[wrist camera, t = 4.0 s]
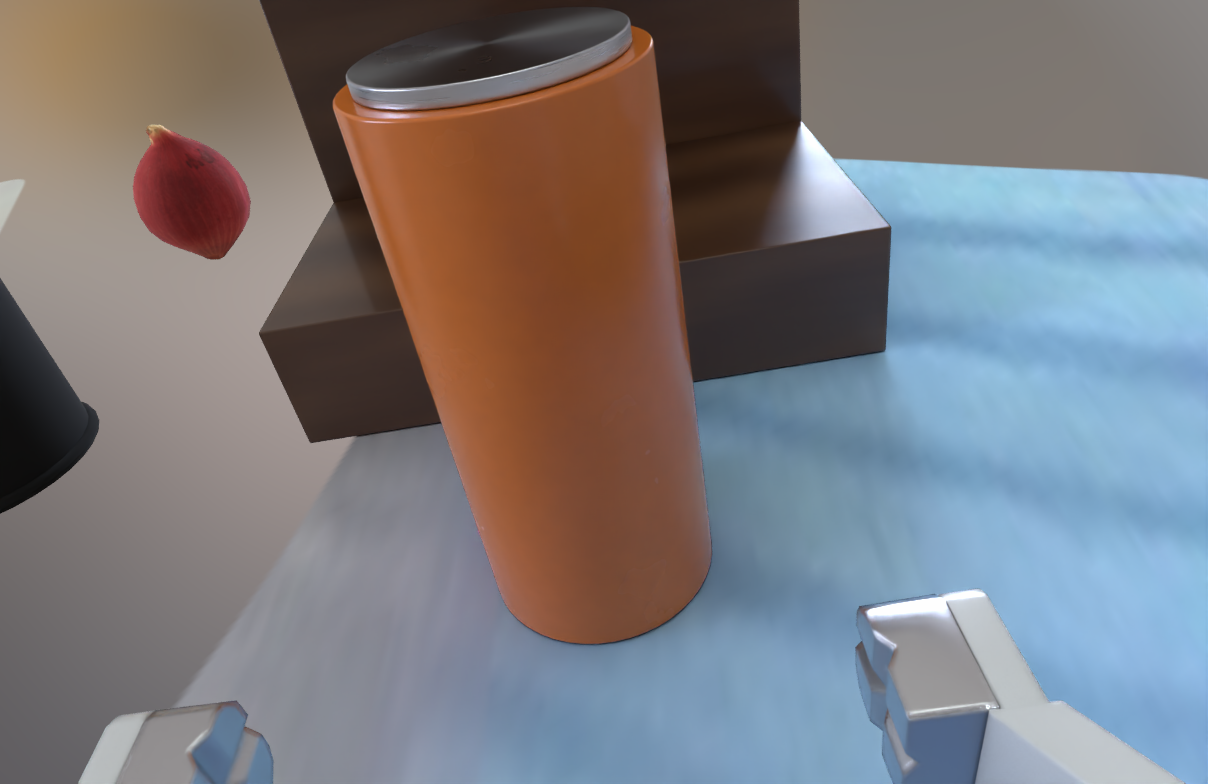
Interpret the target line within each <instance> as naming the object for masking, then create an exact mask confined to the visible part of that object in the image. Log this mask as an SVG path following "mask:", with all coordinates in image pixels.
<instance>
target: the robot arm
mask: <svg viewBox="0 0 1208 784" xmlns="http://www.w3.org/2000/svg"><path fill="white" fill-rule="evenodd" d="M856 626H857V629H858V631H859V634H860V637H861V639H862V641H861V642H860V643H859V644H858V645H857V646H856V647H855V658H856V670H857V677H858V683H859V688H860V691H861V695H862V698H863V702H864V705H865V708H866V711H867V714H868V716H869V719H870V721H871V722H872V723H873V724H875V725H876V726H877V727H878V728H880V729H881V730H882V731H883V743H882V756H883V758H884V761H885V764H886V766H887V769H888V772H889V775H890V777H891V780H892V783H893V784H1186V783H1184V782H1183V781H1181V780H1180V779H1178V778H1177V777H1175V776H1174V775H1172V774H1171V773H1169V772H1168V771H1166V770H1165V769H1163V768H1162V767H1160V766H1159V765H1157V764H1156V763H1154V762H1153V761H1151V760H1150V759H1148V758H1147V757H1146V756H1144V755H1143V754H1141V753H1140V752H1138V751H1137V750H1135V749H1134V748H1132V747H1131V746H1129V745H1128V744H1126V743H1125V742H1123V741H1122V740H1120V739H1119V738H1117V737H1116V736H1114V735H1113V734H1111V733H1110V732H1108V731H1107V730H1105V729H1104V728H1102V727H1101V726H1099V725H1098V724H1096V723H1095V722H1093V721H1092V720H1090V719H1089V718H1087V717H1086V716H1084V715H1083V714H1081V713H1080V712H1078V711H1077V710H1075V709H1074V708H1072V707H1071V706H1070V705H1068V704H1067V703H1065V702H1064V701H1051V702H1049V700H1048V699H1047V697H1046V695H1045V694H1044V692H1043V690H1042V688H1041V687H1040V685H1039V683H1038V682H1037V680H1036V678H1035V676H1034V675H1033V673H1032V671H1031V669H1030V668H1029V666H1028V664H1027V663H1026V661H1025V659H1024V657H1023V656H1022V654H1021V652H1020V650H1019V649H1018V647H1017V645H1016V644H1015V642H1014V640H1013V638H1012V637H1011V635H1010V633H1009V631H1008V630H1007V628H1006V626H1005V625H1004V623H1003V621H1002V619H1001V618H1000V616H999V614H998V613H997V611H996V609H995V607H994V606H993V604H992V602H991V600H990V599H989V597H988V595H987V594H986V593H984V592H983V591H982V590H981V589H970V590H963V591H957V592H951V593H945V594H939V595H936V594H931V595H925V596H919V597H913V598H907V599H900V600H894V601H888V602H882V603H876V604H870V605H864V606H859V608H858V610H857V616H856ZM247 716H248V714H247V713H246V712H245V710H244V709H243V708H242V707H241V705H240V704H239V703H238V702H237V700H236V701H228V702H220V703H212V704H204V705H196V706H188V707H180V708H172V709H164V710H155V711H148V712H141V713H134V714H127V715H120V716H117V717H116V718H115V719H114V720H113V721H112V722H111V723H110V724H109V725H108V726H107V727H106V728H105V730H104V732H103V734H102V736H101V739H100V740H99V742H98V744H97V746H96V748H95V751H94V752H93V754H92V756H91V758H90V760H89V762H88V764H87V766H86V768H85V770H84V772H83V774H82V776H81V778H80V780H79V782H78V784H273V757H272V754H271V750H270V747H269V744H268V743H267V741H266V740H265V738H264V737H263V735H262V734H260V733H258V732H256V731H253V730H251V729H249V728H247V727H245V726H244V725H245V722H246V719H247Z"/></svg>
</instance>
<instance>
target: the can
mask: <svg viewBox="0 0 1208 784" xmlns="http://www.w3.org/2000/svg"><path fill="white" fill-rule="evenodd" d="M346 81H347V85H345V86H344V87H343V88H342V89H341V90H340V91H339V92H338V93H337V94H336V95H335V97H334V99H333V110H334V113H335V116H336V119H337V122H338V125H339V127H340V130H341V133H342V136H343V139H344V142H345V145H346V148H347V151H348V154H349V156H350V159H351V162H352V165H353V168H354V171H355V174H356V177H357V180H358V183H359V185H360V188H361V191H362V194H363V197H364V200H365V203H366V206H367V209H368V212H369V214H370V217H371V220H372V223H373V226H374V229H375V232H376V235H377V238H378V241H379V243H380V246H381V249H382V252H383V255H384V258H385V261H386V264H387V267H388V270H389V272H390V275H391V278H392V281H393V284H394V287H395V290H396V293H397V296H398V299H399V301H400V304H401V307H402V310H403V313H404V316H405V319H406V322H407V325H408V328H409V330H410V333H411V336H412V339H413V342H414V345H415V348H416V351H417V354H418V357H419V359H420V362H421V365H422V368H423V371H424V374H425V377H426V380H427V383H428V386H429V388H430V391H431V394H432V397H433V400H434V403H435V406H436V409H437V412H438V415H439V417H440V420H441V423H442V426H443V429H444V432H445V435H446V438H447V441H448V444H449V446H450V449H451V452H452V455H453V458H454V461H455V464H456V467H457V470H458V473H459V475H460V478H461V481H462V484H463V487H464V490H465V493H466V496H467V499H468V502H469V505H470V507H471V510H472V513H473V516H474V519H475V522H476V525H477V528H478V531H479V534H480V536H481V539H482V542H483V545H484V548H485V551H486V554H487V557H488V560H489V563H490V565H491V568H492V571H493V574H494V577H495V580H496V583H497V586H498V589H499V592H500V594H501V596H502V598H503V601H504V603H505V604H506V606H507V607H508V609H509V610H510V612H511V613H512V614H513V615H514V616H515V617H516V618H517V619H518V620H519V621H520V622H522V623H523V624H524V625H526V626H527V627H529V628H530V629H532V630H534V631H536V632H538V633H539V634H541V635H544V636H547V637H549V638H552V639H555V640H560V641H564V642H569V643H579V644H601V643H609V642H616V641H620V640H624V639H628V638H632V637H635V636H637V635H640V634H643V633H646V632H648V631H650V630H652V629H654V628H656V627H658V626H660V625H661V624H663V623H665V622H666V621H668V620H669V619H671V618H672V617H674V616H675V615H676V614H677V613H678V612H680V611H681V610H682V609H683V608H684V607H685V606H686V605H687V604H688V603H689V602H690V601H691V600H692V599H693V597H694V596H695V595H696V593H697V592H698V591H699V589H700V588H701V586H702V584H703V582H704V580H705V578H706V576H707V573H708V570H709V567H710V563H711V557H712V541H711V532H710V524H709V515H708V506H707V498H706V489H705V480H704V472H703V463H702V455H701V446H700V437H699V429H698V420H697V411H696V403H695V394H694V385H693V377H692V368H691V360H690V351H689V342H688V334H687V325H686V316H685V308H684V299H683V290H682V282H681V273H680V265H679V256H678V247H677V239H676V230H675V221H674V213H673V204H672V195H671V187H670V178H669V170H668V161H667V152H666V144H665V135H664V126H663V118H662V109H661V100H660V92H659V83H658V75H657V66H656V57H655V49H654V42H653V39H652V37H651V35H650V34H649V33H648V32H647V31H645V30H643V29H641V28H638V27H634V26H631V24H630V20H629V17H628V16H627V15H626V14H624V13H622V12H620V11H616V10H612V9H607V8H598V7H563V8H550V9H540V10H531V11H524V12H517V13H510V14H504V15H499V16H493V17H488V18H483V19H478V20H473V21H469V22H465V23H460V24H456V25H452V26H448V27H444V28H441V29H437V30H433V31H430V32H427V33H423V34H420V35H417V36H414V37H411V38H408V39H405V40H402V41H399V42H397V43H394V44H392V45H389V46H387V47H384V48H382V49H380V50H377V51H375V52H373V53H371V54H369V55H367V56H366V57H364V58H363V59H361V60H359V61H358V62H357V63H355V64H354V65H353V66H352V67H351V68H350V69H349V70H348V71H347V74H346Z"/></svg>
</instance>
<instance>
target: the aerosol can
mask: <svg viewBox="0 0 1208 784" xmlns="http://www.w3.org/2000/svg"><path fill="white" fill-rule="evenodd" d="M98 429H99V419H98V416H97V414H96V411H95V410H94V409H92V408H91V407H90V406H89V405H88V404H86V403H84V402H81V401H80V400H79V398H78V397H77V395H76V394H75V392H74V390H73V389H72V387H71V386H70V384H69V383H68V381H67V380H66V378H65V377H64V375H63V374H62V372H61V370H60V369H59V367H58V366H57V364H56V363H55V361H54V360H53V358H52V357H51V355H50V354H49V352H48V351H47V349H46V348H45V346H44V344H43V343H42V341H41V340H40V338H39V337H38V335H37V334H36V332H35V331H34V329H33V328H32V326H31V324H30V323H29V321H28V320H27V318H26V317H25V315H24V314H23V312H22V311H21V309H20V308H19V306H18V305H17V303H16V302H15V300H14V298H13V297H12V295H11V294H10V292H9V291H8V289H7V288H6V286H5V285H4V283H3V282H2V280H1V279H0V513H2V512H5V511H7V510H9V509H11V508H13V507H15V506H17V505H19V504H20V503H22V502H24V501H25V500H27V499H29V498H31V497H33V496H34V495H36V494H38V493H39V492H41V491H42V490H44V489H45V488H47V487H48V486H49V485H51V484H52V483H54V482H55V481H56V480H58V479H59V478H60V477H61V476H63V475H64V474H65V473H66V472H67V471H69V470H70V469H71V468H72V467H73V466H74V465H75V464H76V463H77V462H78V461H79V460H80V459H81V458H82V457H83V456H84V455H85V453H86V452H87V450H88V449H89V448H90V446H91V445H92V444H93V441H94V439H95V437H96V435H97V433H98Z"/></svg>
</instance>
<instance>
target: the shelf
mask: <svg viewBox="0 0 1208 784" xmlns="http://www.w3.org/2000/svg"><path fill="white" fill-rule="evenodd" d="M259 1H260V4H261V6H262V9H263V12H264V15H265V17H266V20H267V23H268V25H269V28H270V31H271V34H272V36H273V39H274V41H275V45H276V47H277V50H278V52H279V55H280V58H281V61H282V63H283V66H284V69H285V71H286V74H287V77H288V80H289V82H290V85H291V88H292V91H293V93H294V96H295V99H296V101H297V104H298V107H299V110H300V112H301V115H302V118H303V121H304V123H305V126H306V129H307V131H308V134H309V137H310V140H311V142H312V145H313V148H314V150H315V153H316V156H317V158H318V161H319V164H320V167H321V169H322V172H323V175H324V177H325V180H326V183H327V185H328V188H329V191H330V194H331V196H332V199H333V202H334V203H333V205H332V207H331V208H330V210H329V212H328V214H327V215H326V217H325V219H324V221H323V223H322V224H321V226H320V227H319V229H318V231H317V233H316V234H315V236H314V238H313V240H312V242H311V243H310V245H309V247H308V248H307V250H306V252H305V254H304V255H303V257H302V259H301V261H300V262H299V264H298V266H297V268H296V269H295V271H294V273H293V274H292V276H291V278H290V280H289V282H288V283H287V285H286V287H285V289H284V290H283V292H282V294H281V295H280V297H279V299H278V301H277V302H276V304H275V306H274V308H273V309H272V311H271V313H270V314H269V316H268V318H267V320H266V321H265V323H264V325H263V327H262V328H261V330H260V332H259V335H260V337H261V339H262V341H263V344H264V346H265V348H266V350H267V352H268V354H269V356H270V358H271V360H272V363H273V365H274V367H275V369H276V371H277V373H278V376H279V378H280V380H281V382H282V384H283V386H284V388H285V390H286V392H287V395H288V397H289V399H290V401H291V403H292V405H293V407H294V410H295V412H296V414H297V415H298V418H299V420H300V422H301V424H302V427H303V429H304V431H305V433H306V435H307V437H308V439H309V441H310V442H311V443H314V442H320V441H326V440H332V439H339V438H345V437H351V436H358V435H364V434H370V433H376V432H382V431H389V430H395V429H401V428H407V427H413V426H420V425H426V424H432V423H438V422H441V420H440V417H439V415H438V412H437V409H436V406H435V403H434V400H433V397H432V394H431V391H430V388H429V386H428V383H427V380H426V377H425V374H424V371H423V368H422V365H421V362H420V359H419V357H418V354H417V351H416V348H415V345H414V342H413V339H412V336H411V333H410V330H409V328H408V325H407V322H406V319H405V316H404V313H403V310H402V307H401V304H400V301H399V299H398V296H397V293H396V290H395V287H394V284H393V281H392V278H391V275H390V272H389V270H388V267H387V264H386V261H385V258H384V255H383V252H382V249H381V246H380V243H379V241H378V238H377V235H376V232H375V229H374V226H373V223H372V220H371V217H370V214H369V212H368V209H367V206H366V203H365V200H364V197H363V194H362V191H361V188H360V185H359V183H358V180H357V177H356V174H355V171H354V168H353V165H352V162H351V159H350V156H349V154H348V151H347V148H346V145H345V142H344V139H343V136H342V133H341V130H340V127H339V125H338V122H337V119H336V116H335V113H334V110H333V99H334V97H335V95H336V94H337V93H338V92H339V91H340V90H341V89H342V88H343V87H344V86H345V85H347V81H346V74H347V71H348V70H349V69H350V68H351V67H352V66H353V65H354V64H355V63H357V62H358V61H359V60H361V59H363V58H364V57H366V56H367V55H369V54H371V53H373V52H375V51H377V50H380V49H382V48H384V47H387V46H389V45H392V44H394V43H397V42H399V41H402V40H405V39H408V38H411V37H414V36H417V35H420V34H423V33H427V32H430V31H433V30H437V29H441V28H444V27H448V26H452V25H456V24H460V23H465V22H469V21H473V20H478V19H483V18H488V17H493V16H499V15H504V14H510V13H517V12H524V11H531V10H540V9H550V8H563V7H598V8H607V9H612V10H616V11H620V12H622V13H624V14H626V15H627V16H628V17H629V20H630V24H631V26H634V27H638V28H641V29H643V30H645V31H647V32H648V33H649V34H650V35H651V37H652V39H653V42H654V49H655V57H656V66H657V75H658V83H659V92H660V100H661V109H662V118H663V126H664V135H665V144H666V152H667V161H668V170H669V178H670V187H671V195H672V204H673V213H674V221H675V230H676V239H677V247H678V256H679V265H680V273H681V282H682V290H683V299H684V308H685V316H686V325H687V334H688V342H689V351H690V360H691V368H692V377H693V381H699V380H705V379H711V378H717V377H723V376H730V375H736V374H742V373H748V372H754V371H761V370H767V369H773V368H779V367H785V366H792V365H798V364H804V363H810V362H816V361H823V360H829V359H835V358H841V357H847V356H853V355H860V354H866V353H872V352H878V351H884V350H885V348H886V327H887V307H888V286H889V265H890V245H891V226H890V225H889V224H888V223H887V221H886V220H885V219H884V218H883V217H882V215H881V214H880V213H879V212H878V211H877V210H876V208H875V207H874V206H873V205H872V204H871V203H870V201H869V200H868V199H867V198H866V197H865V195H864V194H863V193H862V192H861V191H860V190H859V188H858V187H857V186H856V185H855V184H854V183H853V181H852V180H851V179H850V178H849V177H848V176H847V174H846V173H845V172H844V171H843V170H842V168H841V167H840V166H839V165H838V164H837V163H836V161H835V160H834V159H833V158H832V157H831V156H830V155H829V153H828V152H827V151H826V150H825V148H824V147H823V146H822V145H821V144H820V143H819V141H818V140H817V139H816V138H815V137H814V136H813V135H812V133H811V132H810V131H809V130H808V128H807V127H806V126H805V125H804V124H803V123H802V122H801V83H800V29H799V0H259Z"/></svg>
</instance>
